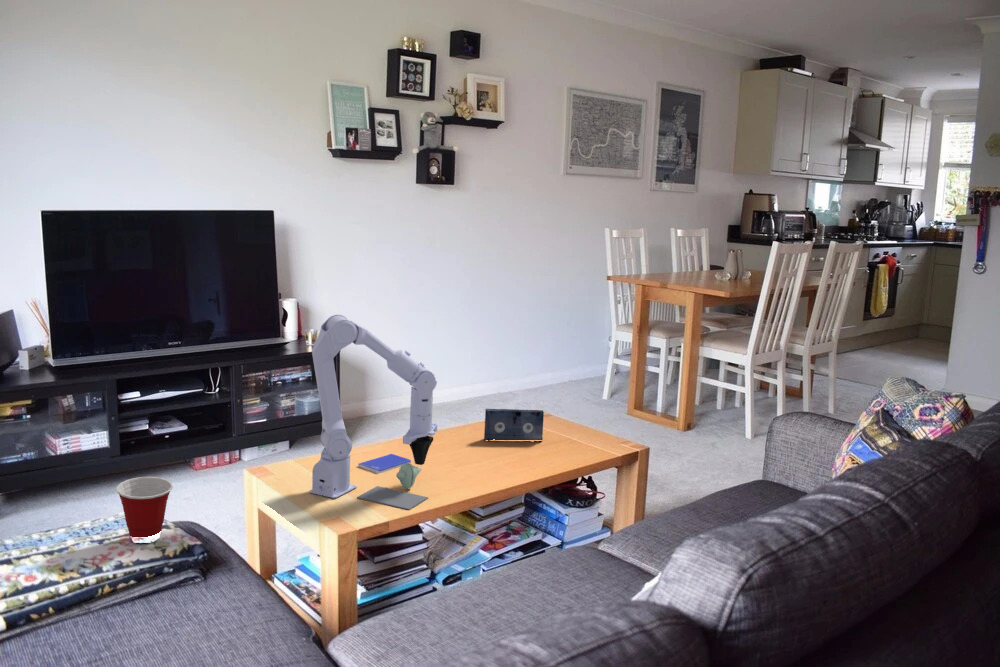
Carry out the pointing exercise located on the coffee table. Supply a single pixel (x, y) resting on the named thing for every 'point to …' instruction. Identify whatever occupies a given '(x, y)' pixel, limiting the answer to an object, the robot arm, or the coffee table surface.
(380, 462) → the hard drive
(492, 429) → the vhs cassette tape
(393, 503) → the mat
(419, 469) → the grey-green rounded piece
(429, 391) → the robot arm
